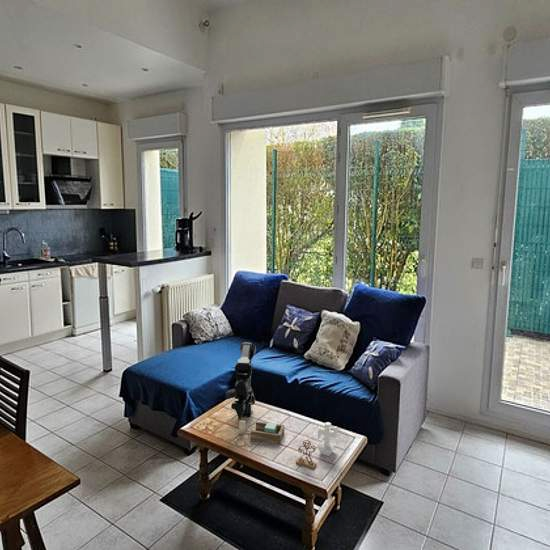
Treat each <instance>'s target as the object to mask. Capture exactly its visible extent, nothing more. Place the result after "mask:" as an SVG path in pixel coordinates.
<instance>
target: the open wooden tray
mask: <svg viewBox="0 0 550 550" xmlns="http://www.w3.org/2000/svg"><path fill="white" fill-rule="evenodd" d="M267 423H268V422H265V421H257V420H256V421H255V430H254V429H253V430H252V429H251V430H250V432H251V434H250V440H251V441H257V442H264V443H271V444H275V445H280V444H281V443H282V440H283V437H284V435H285V424H278V423H276V424H277V432H276V434H274V433H267V432H265V426H266V424H267Z"/></svg>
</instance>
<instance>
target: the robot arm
mask: <svg viewBox="0 0 550 550" xmlns="http://www.w3.org/2000/svg"><path fill="white" fill-rule="evenodd" d="M239 345H240V346H239V351H240V353H241V355H240V358H239V359H237V362H236V363H235V366H234V367H235V368H234V379H236V382H235V386H234V388H232V389H228V390H227V391H226V392H225V399H227V400H230V399H235V400H234V401H233V402H232V403H231V404H230V406H231V407H230V408H231V410H234V411H235V412H236V416H237V418H238V420H242V417H251V416H252V414H253V412H254V410H252V406H254V405H255V404H256V397H255V395H254V391H253V388H252V386H251V379H252V374H253V373H252V371H253V366H252V360H253V358H254V356H255V353H256V350H257V348H256V347H257V346H256V344H254V343H251V342H242V343H240V344H239Z"/></svg>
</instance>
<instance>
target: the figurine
mask: <svg viewBox="0 0 550 550" xmlns="http://www.w3.org/2000/svg"><path fill="white" fill-rule="evenodd" d="M331 427H332V423H331V422H329V421H327V422H325V423H324V427H319V428H318V429H317V439H319V440H320V439H322V436H323V435H324V439H322V440H321V441H320V442H319V444H318V445H317V446H316V448H317V450H318V453H320V455H325V456H327V457H329V456H331V454H332V453H333V451H334V450H335V448H336V446H337V444H338V443H334V442H331V438H334V439H336V438H337V437H338V426H335V425H334V427H333V430H331V429H332V428H331Z"/></svg>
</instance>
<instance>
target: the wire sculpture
mask: <svg viewBox="0 0 550 550" xmlns="http://www.w3.org/2000/svg"><path fill="white" fill-rule="evenodd" d="M302 444H303V445H300V446H299V447H298V449H297V451H298V453H300V454H301V453H302V455H301V457H298V459H297V460H296V461H295V465H298V466H299V467H300V466H301V467H303V468H307V469H310V470H313V471H314V470H315V469H316V468H317V463H316V462H313V460H312V458H311V453H314V452H315V451H316V446H315V445H312V444H311V441H310V440H309V439H304V440H303V441H302ZM301 447H303V448H302V449H301ZM311 449H312V451H311ZM304 455H305V457H304V458H303V456H304ZM309 459H310V460H309Z"/></svg>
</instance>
